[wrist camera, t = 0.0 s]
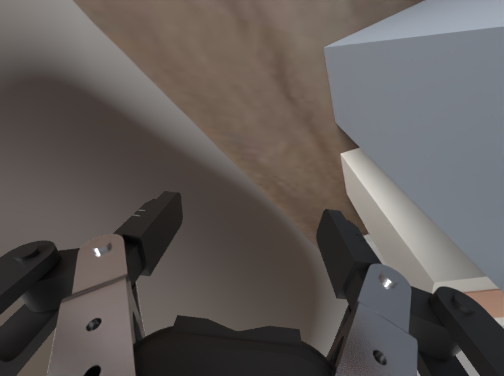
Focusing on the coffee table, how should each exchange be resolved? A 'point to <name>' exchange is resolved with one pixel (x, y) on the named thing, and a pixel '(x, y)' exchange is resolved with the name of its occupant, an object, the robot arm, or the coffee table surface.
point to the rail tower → (433, 114)
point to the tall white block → (413, 236)
